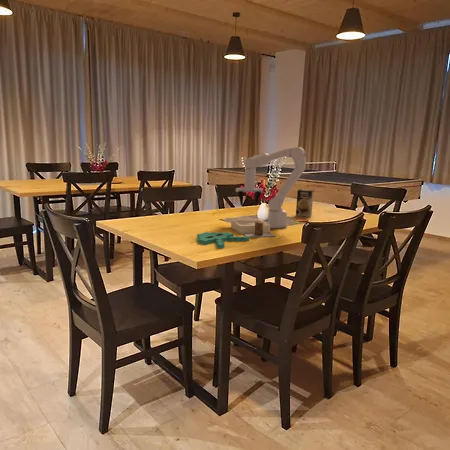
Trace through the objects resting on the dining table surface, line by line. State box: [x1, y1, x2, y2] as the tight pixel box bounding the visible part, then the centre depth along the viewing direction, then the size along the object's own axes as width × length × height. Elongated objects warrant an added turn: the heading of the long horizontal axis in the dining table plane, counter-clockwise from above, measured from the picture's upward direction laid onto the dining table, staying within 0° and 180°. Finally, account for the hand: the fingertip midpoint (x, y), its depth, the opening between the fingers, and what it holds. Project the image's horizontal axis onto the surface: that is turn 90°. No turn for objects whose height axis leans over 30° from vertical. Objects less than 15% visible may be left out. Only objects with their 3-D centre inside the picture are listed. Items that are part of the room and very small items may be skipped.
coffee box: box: [295, 188, 315, 218], centre depth 253 cm, size 9×6×16 cm
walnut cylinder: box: [254, 222, 263, 236], centre depth 198 cm, size 4×4×6 cm
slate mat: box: [242, 232, 276, 239], centre depth 199 cm, size 14×7×1 cm, turn 106°
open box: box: [230, 218, 271, 235], centre depth 210 cm, size 16×16×4 cm
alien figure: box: [196, 231, 250, 250], centre depth 187 cm, size 20×2×20 cm
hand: (248, 205), depth 222 cm, fingers open, 7 cm apart
